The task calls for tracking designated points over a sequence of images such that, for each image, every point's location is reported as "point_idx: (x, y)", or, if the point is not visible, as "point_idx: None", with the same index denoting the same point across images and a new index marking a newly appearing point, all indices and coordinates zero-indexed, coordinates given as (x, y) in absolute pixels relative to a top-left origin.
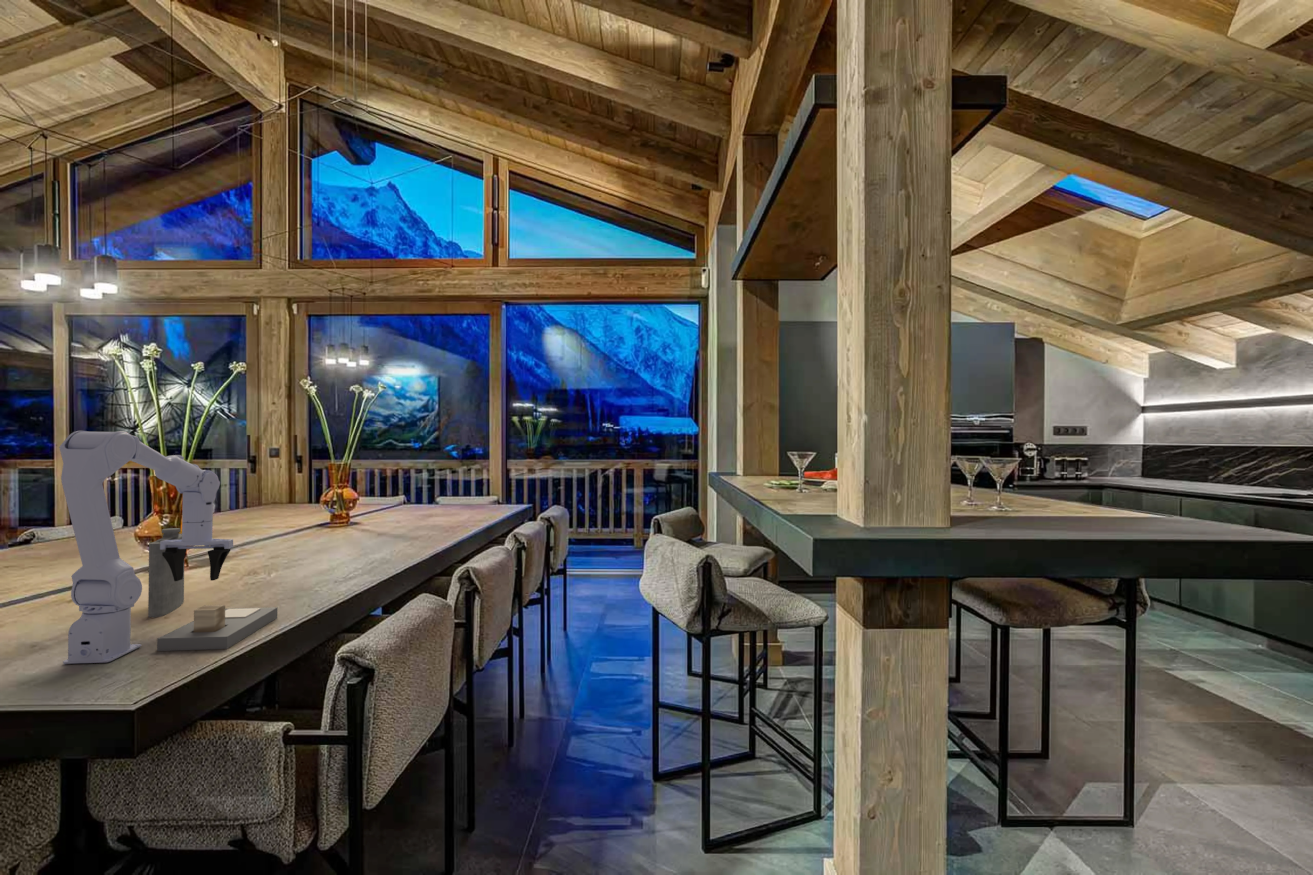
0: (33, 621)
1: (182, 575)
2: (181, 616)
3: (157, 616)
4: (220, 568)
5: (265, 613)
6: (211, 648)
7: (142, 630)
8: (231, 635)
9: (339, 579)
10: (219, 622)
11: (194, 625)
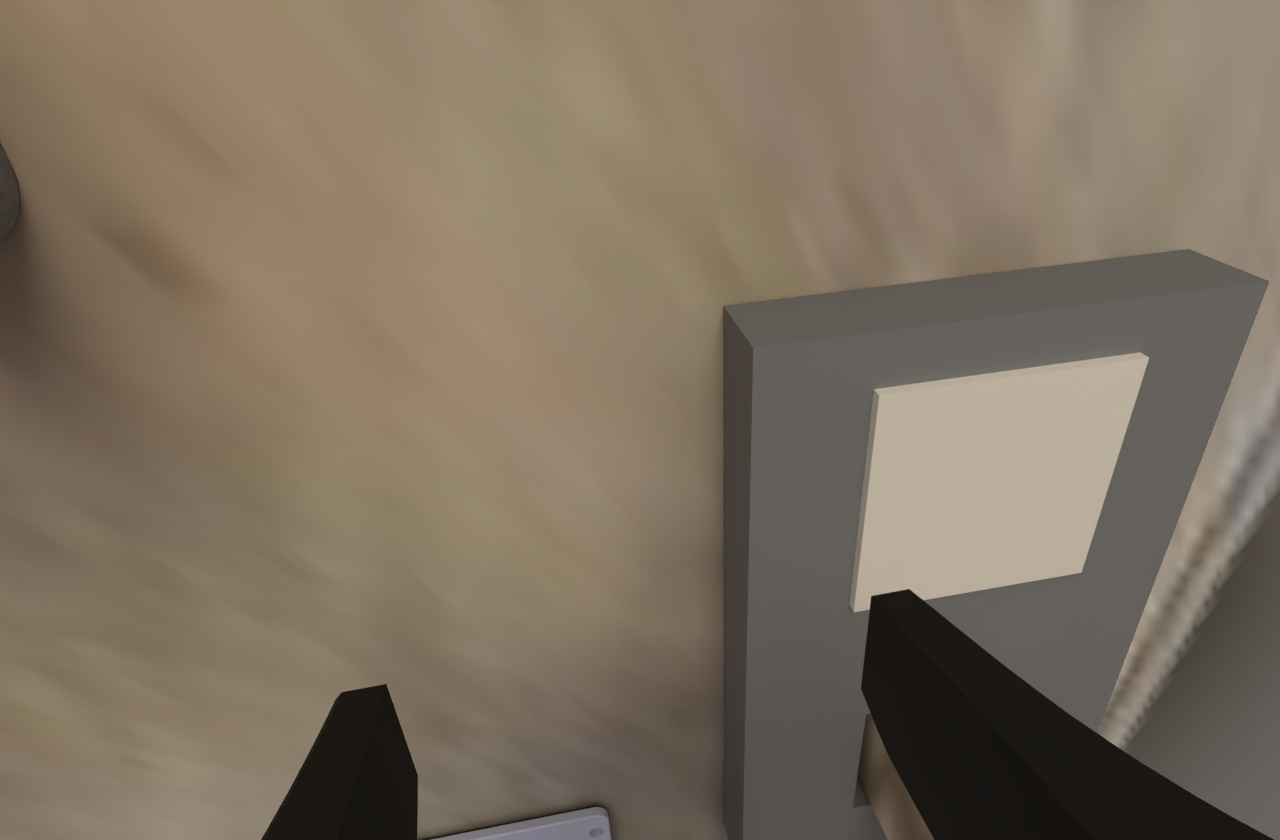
0: None
1: (382, 743)
2: (274, 210)
3: (2, 234)
4: (1031, 705)
5: (1190, 458)
6: None
7: (319, 596)
8: None
9: None
10: None
11: (887, 830)
